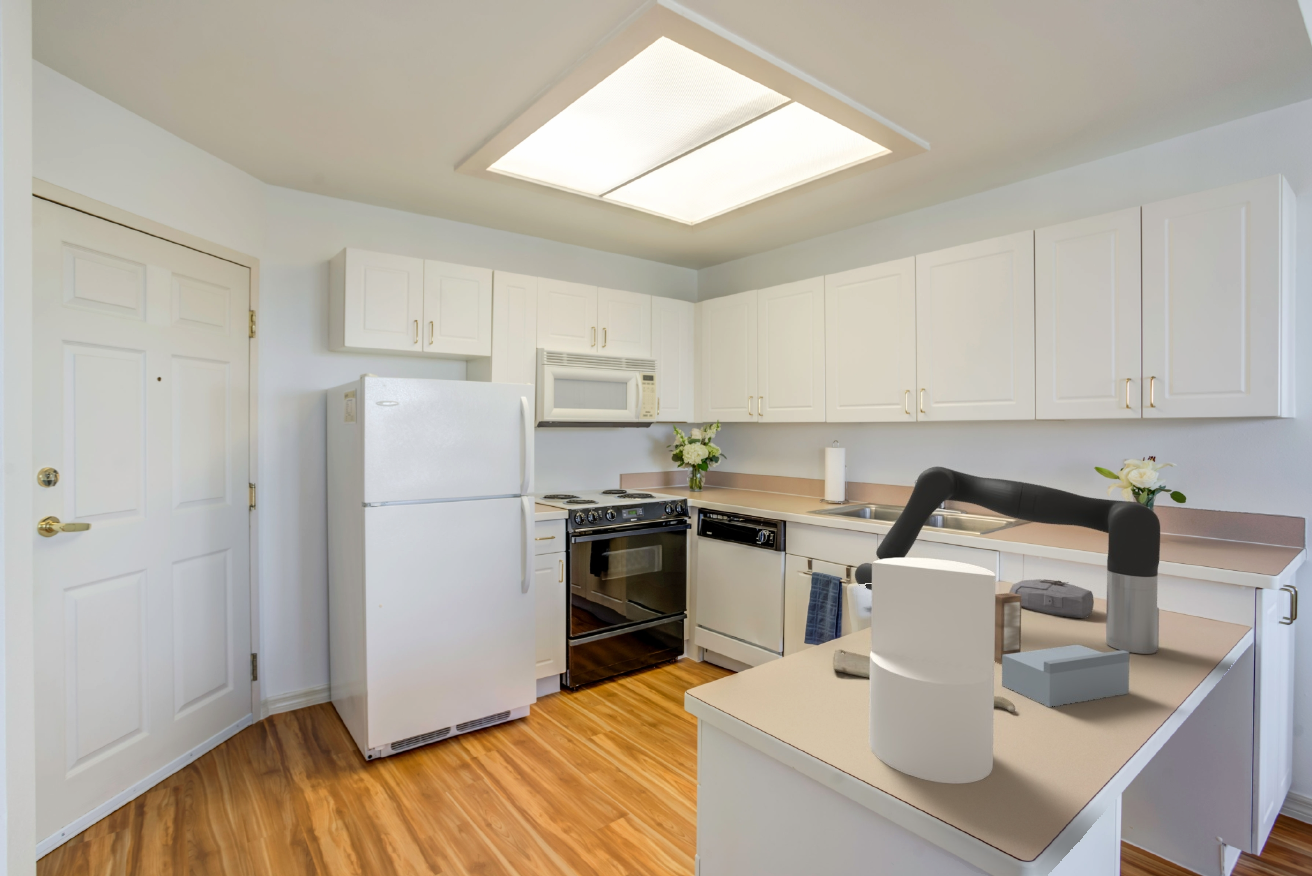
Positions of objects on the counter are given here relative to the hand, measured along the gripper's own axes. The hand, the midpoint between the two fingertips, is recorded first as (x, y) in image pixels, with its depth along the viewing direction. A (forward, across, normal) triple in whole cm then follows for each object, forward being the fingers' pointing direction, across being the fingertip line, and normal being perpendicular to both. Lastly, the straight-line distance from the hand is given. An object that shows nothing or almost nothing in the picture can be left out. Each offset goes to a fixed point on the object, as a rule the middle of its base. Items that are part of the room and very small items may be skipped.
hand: (965, 609), depth 144 cm
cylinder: (+37, -44, +8) cm, 58 cm away
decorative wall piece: (+11, -25, +9) cm, 29 cm away
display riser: (+26, -2, +8) cm, 27 cm away
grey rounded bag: (-16, +46, +8) cm, 50 cm away
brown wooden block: (+11, 0, +8) cm, 14 cm away
